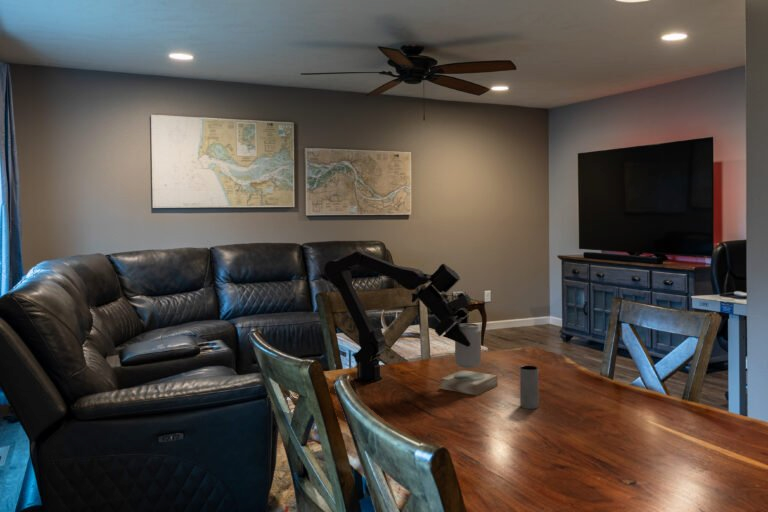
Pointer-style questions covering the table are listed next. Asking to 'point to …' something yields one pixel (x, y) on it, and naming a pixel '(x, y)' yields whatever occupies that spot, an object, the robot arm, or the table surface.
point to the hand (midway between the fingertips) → (472, 342)
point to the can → (471, 354)
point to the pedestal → (469, 382)
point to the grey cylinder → (529, 387)
